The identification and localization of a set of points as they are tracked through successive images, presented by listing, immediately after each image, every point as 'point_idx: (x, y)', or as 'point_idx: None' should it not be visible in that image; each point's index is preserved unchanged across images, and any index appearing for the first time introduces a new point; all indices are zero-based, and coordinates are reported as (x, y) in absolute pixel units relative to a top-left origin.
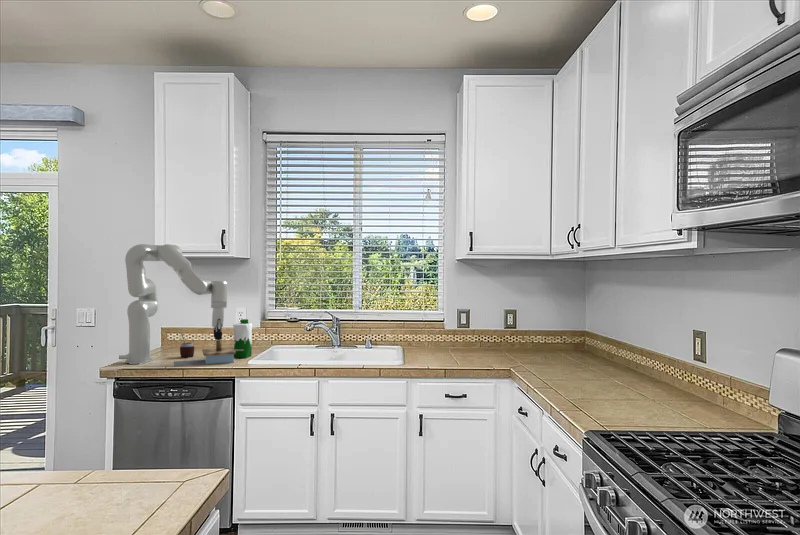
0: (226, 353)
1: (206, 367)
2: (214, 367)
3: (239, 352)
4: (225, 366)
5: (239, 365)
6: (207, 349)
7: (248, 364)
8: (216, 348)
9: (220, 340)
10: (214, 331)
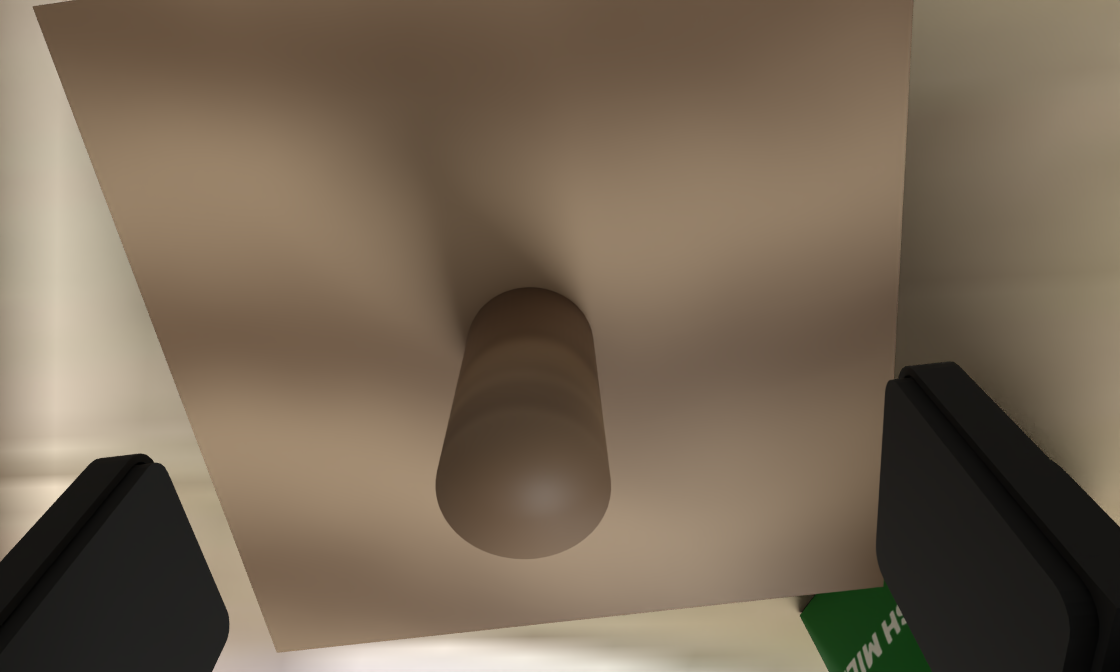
0: (227, 493)
1: (39, 64)
2: (39, 210)
3: (870, 606)
4: (129, 375)
5: (202, 551)
6: (830, 44)
7: (270, 648)
8: (490, 320)
9: (592, 527)
10: (1008, 549)
